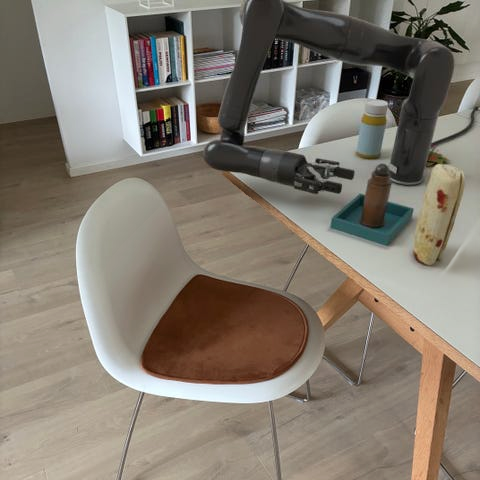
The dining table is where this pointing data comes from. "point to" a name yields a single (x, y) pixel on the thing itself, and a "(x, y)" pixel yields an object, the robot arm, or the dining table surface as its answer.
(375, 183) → the pepper mill
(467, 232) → the dining table surface
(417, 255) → the food model
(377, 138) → the bottle
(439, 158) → the lily flower
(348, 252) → the dining table surface
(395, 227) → the tray
